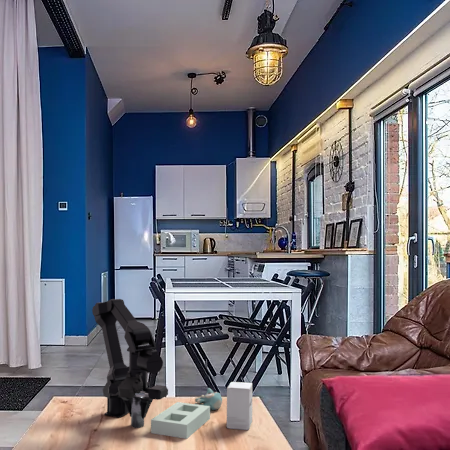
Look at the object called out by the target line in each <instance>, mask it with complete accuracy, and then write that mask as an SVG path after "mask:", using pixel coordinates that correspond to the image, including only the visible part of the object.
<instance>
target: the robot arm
mask: <svg viewBox="0 0 450 450" xmlns="http://www.w3.org/2000/svg"><path fill="white" fill-rule="evenodd" d="M91 311H92V315H93V316H94V321H95V323H96V324H97V325H98V326H99V327H100V328H101V330H102V331H101V332H102V336H103V339H104V345H105V349H106V350H105V351H106V355H107V359H108V365H109V369H108V370H109V371H108V373H107V376H106V384H104V387H103V388H102V394H103V395H102V396H103V397H105V398H106V403H107V404H106V409H107V410H106V412H105V413H103V414H104V416H107V417H108V416H109V417H115V418H122V417H124V416H125V415H127V414H129V416H130V418H131V400H132V397H134V395H136V394H137V395H140V394H143V395H144V397H143V398H141V401H142V418H143V419H144V420H145V418H146V416H147V414H148V411H149V409H150V407H151V405H152V402H153V401H154V400H156V401H158V400H162V399H163V398H165V397H166V396H168V395H169V388H168V387H167V386H166V385H159V384H156V385H154V386H152V387H149V386H150V382H149V381H148V374H152V375H154V374H158V373H160V371H162V369H163V365H164V362H163V358H162V357H161V355H159V354H158V350H157V346H156V345H157V344H156V343H157V342H156V341H155V339H154V337H153V333H152V331H151V328H149V327H148V326H147V325H146V324H145V323H143V322H140V321H138V320H137V319H136V318H135V316H134V315H133V313H131V311H130V309H128V307H127V306H126V305H125V300H124V299H121V298H112V299H109V300H106V301H102V302H95V304H94V306H93V307H92V309H91ZM117 322H118V324H119V325H120V326H121V328H122V329H123V331H124V335H123V336H124V339H125V342H126V344H127V346H128V347H127V349H126V351H127V352H129V355H128V356H129V358H128V359H129V360H128V361H129V362H128V365H129V366H127V365H126V364H125V362H124V358H123V354H122V348H121V343H120V338H119V334H118V333H119V332H118V329H117V325H116V324H117Z"/></svg>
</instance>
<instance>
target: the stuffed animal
mask: <svg viewBox="0 0 450 450" xmlns="http://www.w3.org/2000/svg"><path fill="white" fill-rule="evenodd" d="M194 402H195V403H194V404H196V405H204V406H210V411H211V410H212V411H215V410H219V409H220V408H221V406H222V404H223V398H222V394H221V393H220V392H217V391H214V390H213V389H211V388H210V387H208V388H207V389H206V393H205V395H204V394H201V395H200V397H196V398H194Z"/></svg>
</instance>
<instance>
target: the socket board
mask: <svg viewBox="0 0 450 450" xmlns="http://www.w3.org/2000/svg"><path fill="white" fill-rule="evenodd" d="M210 419H211V409H210V406H204V405H202V404H200V405H196V404H195V403H194V404H193V403H189V402H187V403H186V402H180V401H179V402H178V401H177V402H175V403H173V404H172V405H171V406H169V407H168V408H166V409H165V410H163V411H162V412H160V413H159V414H157V415H156V416H154V417H153V418H151V419H150V434H154V435H155V434H156V435H159V436H160V435H161V436H165V437H166V436H167V437H174V438H181V439H184V440H185V439H186V440H187V439H188V438H189V437H191V436H192V435H193V434H194V433H195V432H197V431H198V430H199V429H201V427H202V426H204V425H205V424H206V423H207V422H208V421H209V420H210Z"/></svg>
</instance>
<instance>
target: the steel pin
mask: <svg viewBox="0 0 450 450" xmlns="http://www.w3.org/2000/svg"><path fill="white" fill-rule="evenodd" d="M143 397H144V394H135V395H134V397H132V400H131V417H130V421H131V422H130V425H131V428H134V429H139V428H140V429H141V428H142V427H145V418H144V419H143V418H142V401H141V398H143Z"/></svg>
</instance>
